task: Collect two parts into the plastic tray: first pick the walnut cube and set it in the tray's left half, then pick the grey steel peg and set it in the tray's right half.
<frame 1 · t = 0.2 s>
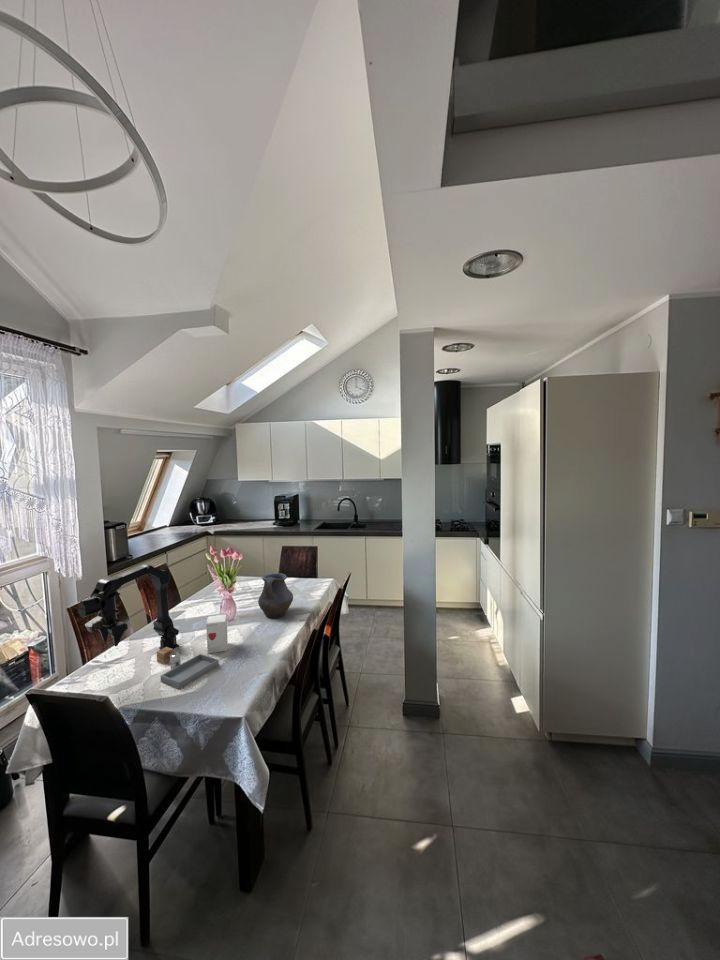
hand: (110, 643, 168), 14 cm above the table, fingers open, 9 cm apart
steel peg: (175, 667, 174), on the table
supplement box: (217, 648, 191), on the table
pitcher: (275, 615, 229), on the table
walnut block: (165, 660, 180), on the table
tray: (190, 673, 169), on the table
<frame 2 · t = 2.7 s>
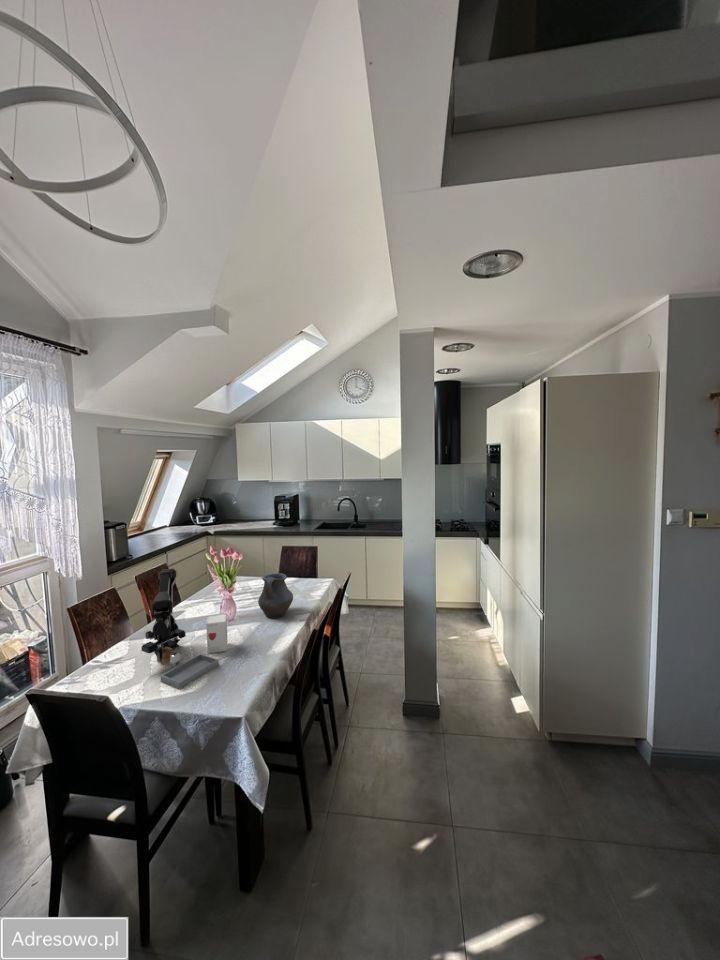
hand: (165, 658, 180), 1 cm above the table, fingers closed on walnut block, 5 cm apart
walnut block: (165, 660, 180), on the table, touching gripper
everything else where it was.
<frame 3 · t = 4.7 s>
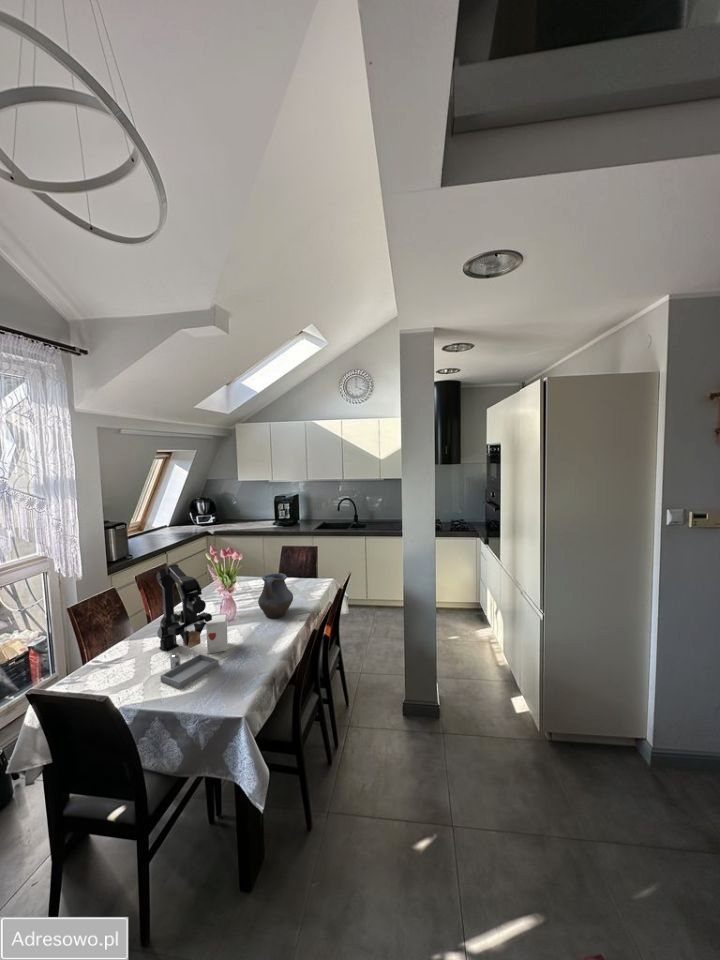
hand: (191, 642, 172), 12 cm above the table, fingers closed on walnut block, 5 cm apart
walnut block: (192, 644, 172), point 11 cm above the table, touching gripper
everything else where it was.
when the fingers open (3 cm above the table, at t = 6.5 s): walnut block drops 1 cm, resting on tray.
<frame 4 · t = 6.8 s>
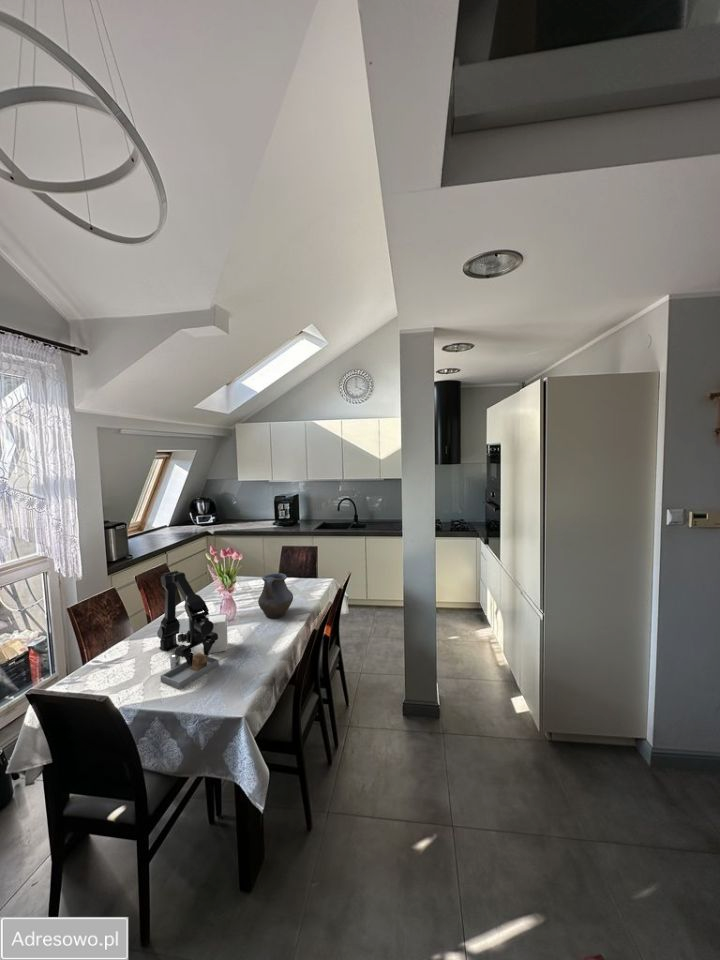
hand: (198, 662, 172), 3 cm above the table, fingers open, 8 cm apart
walnut block: (198, 667, 173), point 1 cm above the table, touching tray
everything else where it was.
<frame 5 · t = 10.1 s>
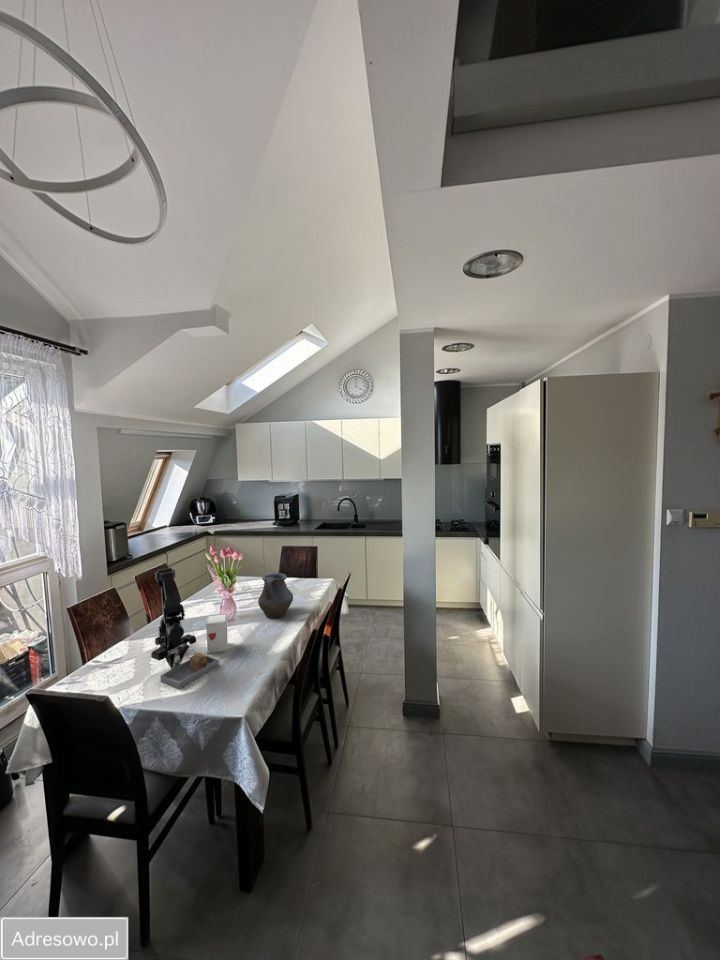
hand: (175, 665, 174), 1 cm above the table, fingers closed on steel peg, 4 cm apart
steel peg: (175, 667, 174), on the table, touching gripper
everything else where it was.
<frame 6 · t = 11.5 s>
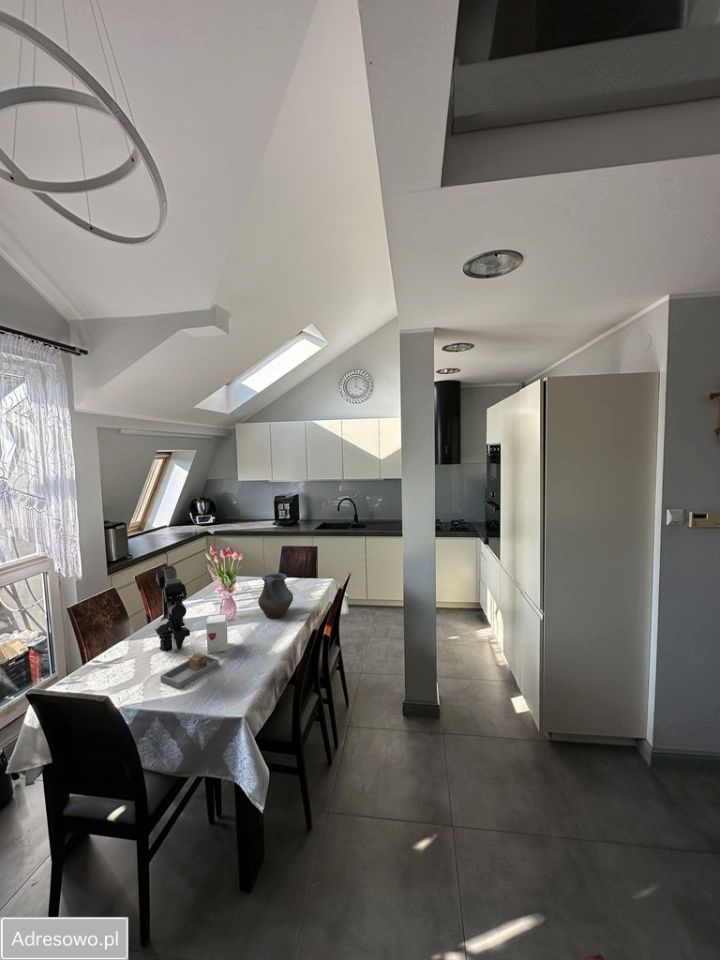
hand: (177, 647, 166), 13 cm above the table, fingers closed on steel peg, 4 cm apart
steel peg: (177, 650, 167), point 11 cm above the table, touching gripper
everything else where it was.
when the fingers open (3 cm above the table, at t = 13.3 s): steel peg drops 1 cm, resting on tray.
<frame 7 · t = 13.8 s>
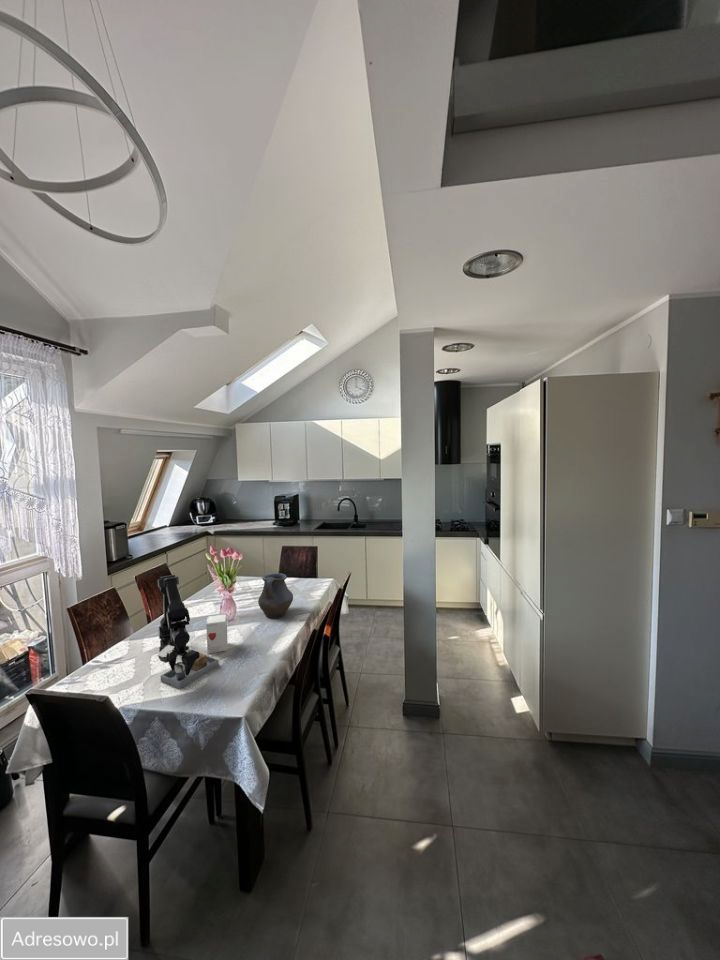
hand: (180, 672, 164), 3 cm above the table, fingers open, 9 cm apart
steel peg: (180, 677, 165), point 1 cm above the table, touching tray
everything else where it was.
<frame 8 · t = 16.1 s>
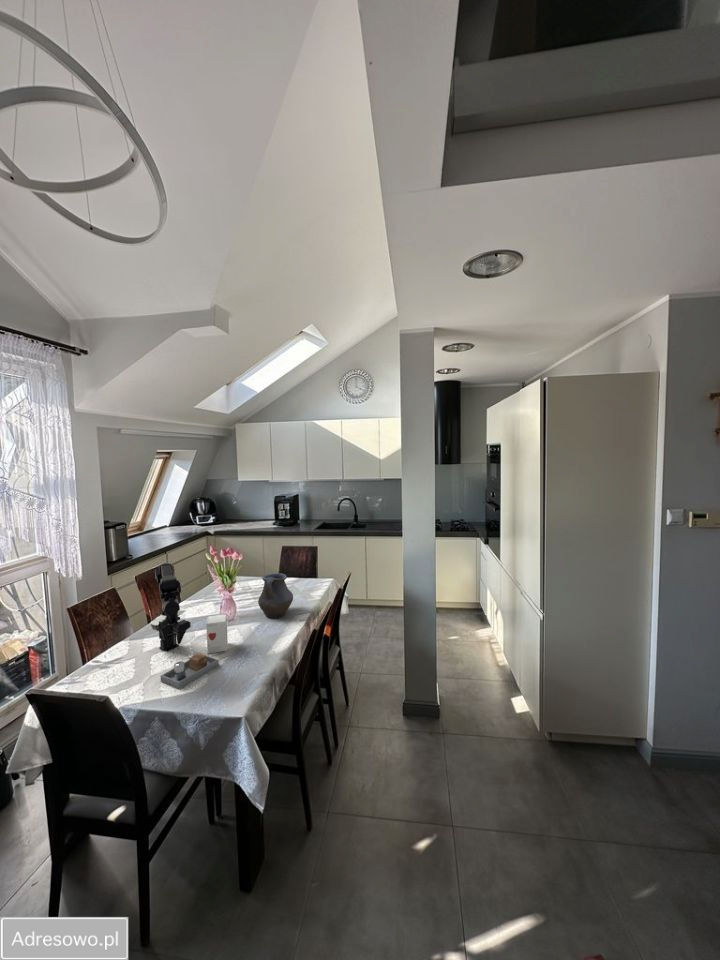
hand: (172, 641, 172), 12 cm above the table, fingers open, 9 cm apart
nothing on the table moved.
at the end: walnut block inside the target area on the tray (4.0 cm from its centre), point 0.6 cm above the tray's base; steel peg inside the target area on the tray (5.0 cm from its centre), point 0.7 cm above the tray's base; the gripper is holding nothing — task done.
